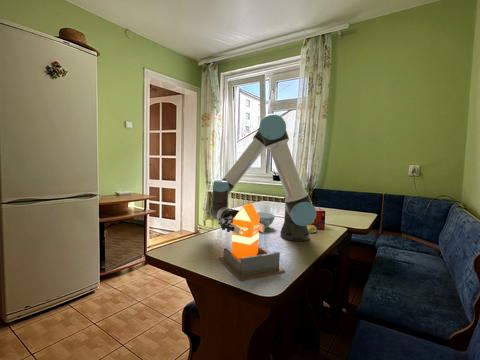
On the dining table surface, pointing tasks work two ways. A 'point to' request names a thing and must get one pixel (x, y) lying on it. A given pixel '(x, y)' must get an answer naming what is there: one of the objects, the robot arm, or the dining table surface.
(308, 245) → the dining table surface
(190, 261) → the dining table surface
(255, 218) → the orange juice
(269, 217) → the chinaware
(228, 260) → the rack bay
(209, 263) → the dining table surface
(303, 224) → the robot arm
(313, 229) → the bread roll
